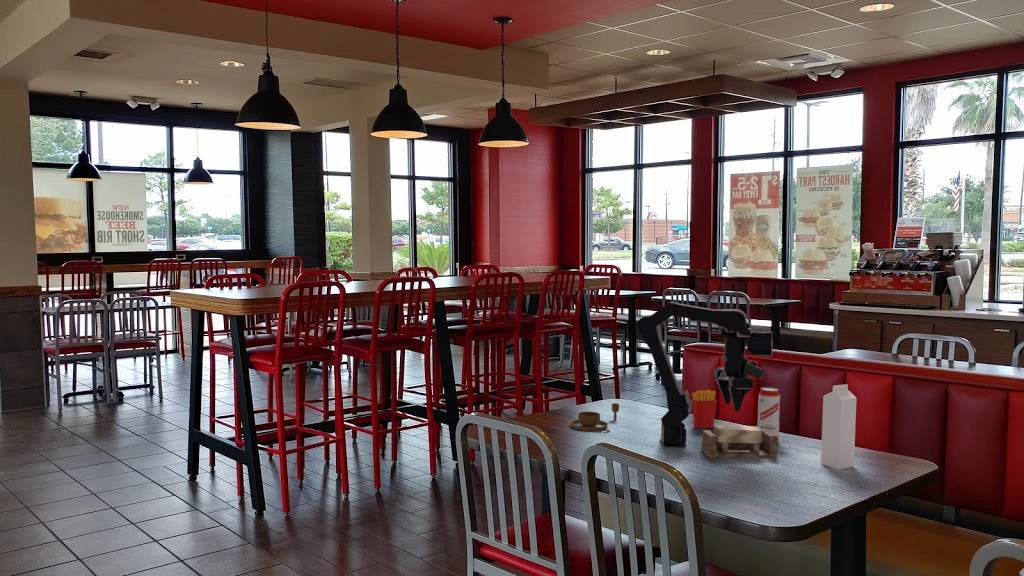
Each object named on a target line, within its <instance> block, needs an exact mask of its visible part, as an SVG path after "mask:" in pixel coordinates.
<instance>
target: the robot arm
mask: <svg viewBox="0 0 1024 576" xmlns="http://www.w3.org/2000/svg"><path fill="white" fill-rule="evenodd" d="M671 317H679V318H683V319H689V320H695V321H700V322H705V323H711V324H714V325H716V326H719V327H721V328H723V330H722V331H721V332H720V333H719V334H717V337H718V338H724V350H723V352H724V353H723V355H721V359H722V360H723V367H716V368H714V371H713V377H714V378H715V381H716V383H717V386H718V388H719V390H720V393H721V397H722V398H723V401H724V404H725V405H730V402H731V401H732V405H733V408H734V411H735V412H740V410H741V407H742V403H743V401H744V399H745V396H746V394H747V393H749V392H751V391H752V390H753V389H755V381H754V380H753V378H755V379H757V380H759V381H762V380H763V377H764V375H765V372H766V370H765V369H763V368H761V367H759V366H757V363H756V362H755V361H752V360H748V358H747V357H746V351H747V352H749V353H750V355H751V356H762V357H772V356H773V347H774V346H773V345H774V343H773V331H764V332H763V331H754V330H753V328H752V327H751V325H750V324H749V323H748V316H747V314H746V313H745V312H744V311H743V310H741V309H739V308H738V309H737V308H733V309H732V308H731V309H730V308H726V309H713V308H706V307H702V306H695V305H690V304H684V303H678V302H676V301H669V302H667V303H666V304H664V306H663V307H661V308H660V309H658V310H657V311H655V312H654V313H652V314H646V315H645V316H642V317H641V318H640V319H638V321H637V323H636V330H637V332H638V333H639V335H640V337H641V338H642V340H643V342H644V343H645V344H646V345H647V346H648V348H649V351H650V353H651V356H652V359H653V360H654V361H653V362H654V364H655V367H656V369H657V373H658V375H659V376H660V380H661V382H662V385H663V388H664V390H665V394H666V405H667V410H668V411H667V412H666V413H665V414H663V416H662V417H661V418H660V421H661V426H660V427H661V428H660V429H661V430H660V431H661V432H660V434H661V435H660V439H659V442H660V444H662V445H663V447H687V444H686V443H687V428H686V425H685V423H684V420H686V419H687V418H688V417H689V416H690V414H691V412H692V411H693V400H692V399H691V398H690V394H689V391H688V390H685V391H684V390H683V389H682V388H681V386H680V385H679V382H678V380H677V376H676V375H675V372H674V369H673V367H672V363H671V362H670V359H669V356H668V354H667V351H666V348H665V346H664V343H663V334H662V327H661V325H662V324H664V322H666V321H667V320H669V319H670V318H671ZM728 330H730V331H728ZM739 334H741V335H739ZM746 340H747V344H746ZM746 345H747V349H746ZM749 376H751V377H749ZM752 377H753V378H752Z"/></svg>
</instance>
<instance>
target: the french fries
mask: <svg viewBox="0 0 1024 576" xmlns="http://www.w3.org/2000/svg"><path fill="white" fill-rule="evenodd" d="M716 393H717V392H716V390H711V389H707V390H705V389H704V390H703V389H701V390H697V391H695V392H694V391H693V392H692V393H691V396H692V402H693V403H692V415H693V416H692V417H693V427H694V428H696V429H711V428H713V427H714V428H715V418H716V417H715V416H716V409H717V401H718V399H716Z"/></svg>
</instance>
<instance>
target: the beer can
mask: <svg viewBox="0 0 1024 576" xmlns="http://www.w3.org/2000/svg"><path fill="white" fill-rule="evenodd" d="M757 403H758V404H757V425H756V426H757V427H758V428H759V429H761V430H768V431H769V432H771V433H772V434H774V435H775V436H776V443H777V442H779V438H780V413H781V411H780V409H781V394H780V392H779V389H778V388H776V387H765V386H764V387H761V388H760V390H759V392H758V402H757Z"/></svg>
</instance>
